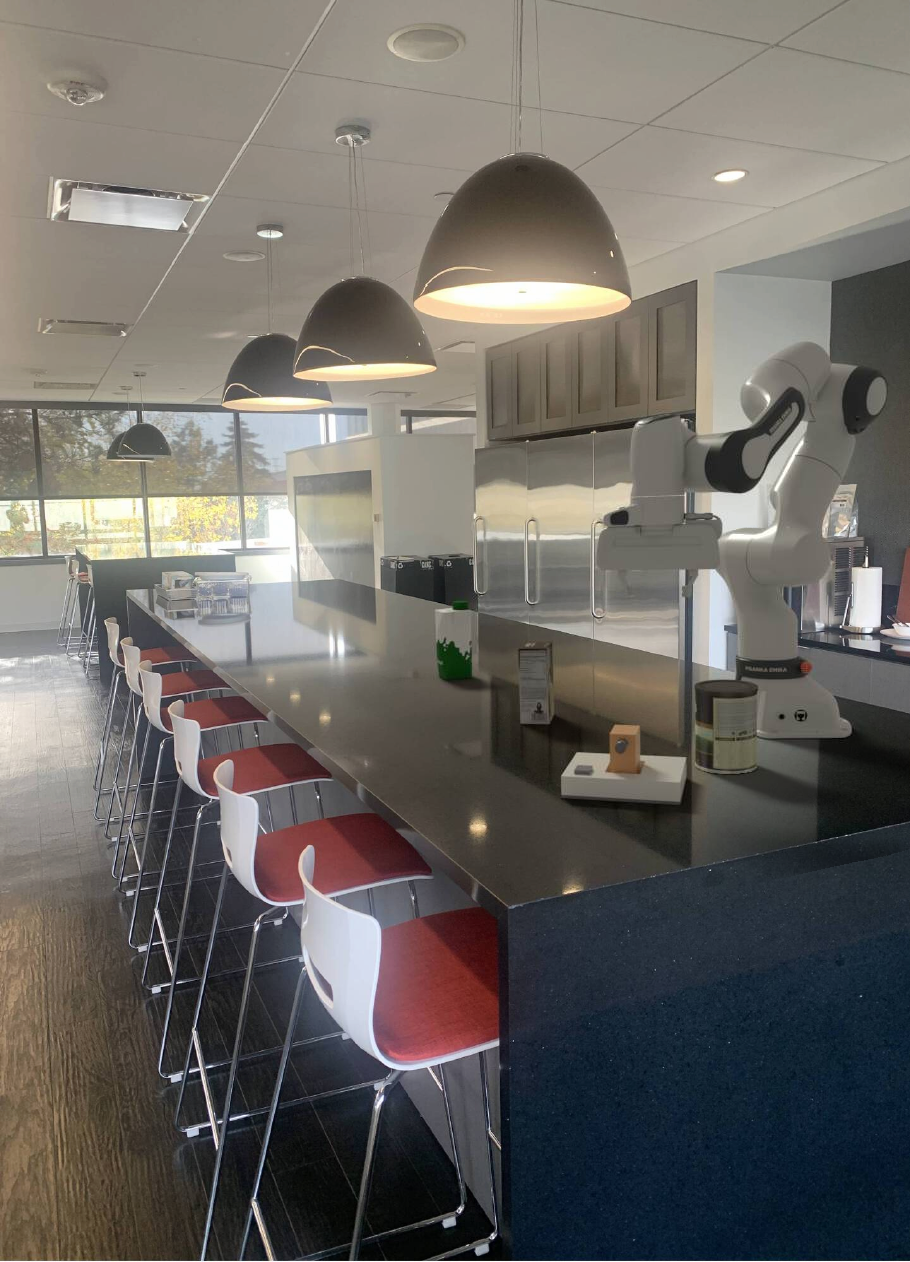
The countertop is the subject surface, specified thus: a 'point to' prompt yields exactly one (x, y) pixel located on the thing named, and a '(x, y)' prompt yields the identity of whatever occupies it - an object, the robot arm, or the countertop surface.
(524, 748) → the countertop surface
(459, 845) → the countertop surface
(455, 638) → the milk carton
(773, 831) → the countertop surface
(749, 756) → the coffee can
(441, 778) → the countertop surface
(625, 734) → the plug
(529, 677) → the coffee box
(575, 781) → the socket
